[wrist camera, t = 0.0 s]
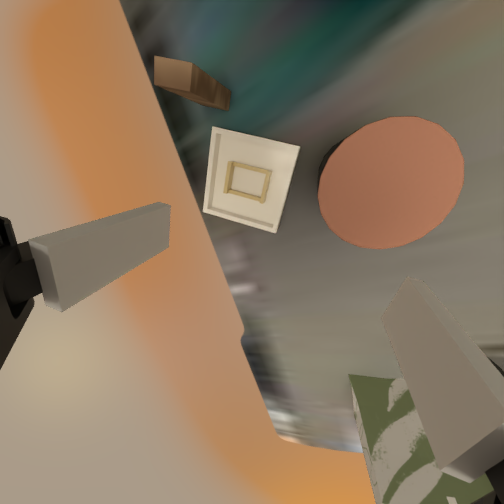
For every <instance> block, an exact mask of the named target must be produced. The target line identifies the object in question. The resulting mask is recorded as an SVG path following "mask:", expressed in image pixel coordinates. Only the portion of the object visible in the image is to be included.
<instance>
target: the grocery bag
mask: <svg viewBox="0 0 504 504" xmlns="http://www.w3.org/2000/svg"><path fill="white" fill-rule="evenodd" d="M348 375H349V379H350V384H351V389H352V394H353V406H354V415H355V420H356V424H357V428H358V432H359V436H360V440H361V445H362V449H363V453H364V457H365V461H366V465H367V469H368V473H369V477H370V481H371V485H372V489H373V493H374V498H375V502H376V504H471V503H472V502H474V501H476V500H477V499H479V498H481V497H483V496H484V495H486V494H488V493H489V492H491V491H493V490H494V489H493V487H492V485H491V483H490V481H489V479H488V477H487V475H486V473H485V474H483V475H482V476H480V477H479V478H477V479H476V480H474V481H473V482H471V483H468V482H466V481H463V480H461V479H458V478H456V477H454V476H451V475H449V474H446V473H444V472H442V471H440V469H439V467H438V464H437V462H436V459H435V456H434V454H433V451H432V449H431V446H430V443H429V441H428V438H427V436H426V433H425V430H424V428H423V425H422V423H421V420H420V417H419V415H418V412H417V410H416V407H415V405H414V402H413V399H412V397H411V394H410V392H409V389H408V386H407V384H406V381H405V379H384V378H376V377H367V376H359V375H350V374H348Z"/></svg>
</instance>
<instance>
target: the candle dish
mask: <svg viewBox="0 0 504 504" xmlns="http://www.w3.org/2000/svg"><path fill="white" fill-rule="evenodd" d="M300 149H301V147H300V146H296V145H291V144H287V143H283V142H278V141H274V140H270V139H265V138H261V137H257V136H252V135H248V134H243V133H239V132H235V131H230V130H226V129H222V128H217V127H213V126H212V134H211V143H210V152H209V161H208V170H207V179H206V188H205V197H204V206H203V212H205V213H209V214H212V215H215V216H219V217H222V218H225V219H229V220H232V221H235V222H239V223H242V224H246V225H249V226H252V227H256V228H259V229H262V230H266V231H269V232H272V233H276V232H277V230H278V228H279V224H280V221H281V217H282V213H283V210H284V206H285V203H286V199H287V195H288V192H289V188H290V185H291V181H292V177H293V174H294V170H295V167H296V163H297V160H298V156H299V152H300Z"/></svg>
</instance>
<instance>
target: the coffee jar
mask: <svg viewBox="0 0 504 504" xmlns="http://www.w3.org/2000/svg"><path fill="white" fill-rule="evenodd" d="M463 184H464V159H463V156H462V154H461V151H460V149H459V147H458V144H457V142H456V140H455V139H454V138H453V137H452V136H451V135H450V134H449V133H448V132H447V131H446V130H444V129H443V128H442V127H441V126H440V125H439V124H437V123H434V122H431V121H428V120H425V119H422V118H419V117H416V116H405V117H388V118H385V119H382V120H379V121H376V122H373V123H370V124H367V125H365V126H363V127H362V128H360V129H358V130H357V131H355V132H354V133H352V134H351V135H349V136H348V137H346V138H345V139H343V140H342V141H340V142H339V143H337V144H336V145H334V146H333V147H332V148H331V149H330V151H329V152H328V153H327V154H326V155H325V156H324V159H323V161H322V163H321V165H320V167H319V175H318V201H319V206H320V211H321V215H322V216H323V218H324V220H325V222H326V223H327V225H328V227H329V228H330V229H331V230H332V231H333V232H334V233H335V234H336V235H338V236H339V237H340V238H341V239H342V240H344V241H346V242H349V243H351V244H354V245H356V246H358V247H363V248H372V249H386V248H392V247H399V246H402V245H405V244H407V243H410V242H412V241H414V240H417V239H419V238H422V237H423V236H424V235H426V234H427V233H428V232H430V231H431V230H432V229H434V228H435V227H436V226H438V225H439V224H440V223H441V222H442V221H443V220H444V218H445V217H446V216H447V215H448V213H449V212H450V211H451V210H452V208H453V207H454V206H455V204H456V202H457V199H458V196H459V194H460V191H461V189H462V186H463Z"/></svg>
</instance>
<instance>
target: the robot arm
mask: <svg viewBox="0 0 504 504" xmlns="http://www.w3.org/2000/svg"><path fill="white" fill-rule="evenodd" d="M170 208H171V206H170V205H168V204H164V203H161V202H157V203H153V204H150V205H147V206H143V207H140V208H136V209H133V210H129V211H126V212H122V213H119V214H116V215H112V216H109V217H105V218H102V219H98V220H95V221H91V222H88V223H84V224H81V225H77V226H74V227H70V228H67V229H63V230H60V231H57V232H53V233H50V234H46V235H43V236H39V237H36V238H32V239H29V240H28V241H27V242H24V243H20V244H17V241H16V238H15V234H14V231H13V228H12V224H11V221H10V220H9V219H8V218H4V217H1V216H0V369H1V367H2V366H3V364H4V362H5V360H6V358H7V356H8V354H9V352H10V350H11V348H12V346H13V344H14V343H15V341H16V339H17V337H18V335H19V333H20V331H21V329H22V328H23V326H24V324H25V322H26V320H27V318H28V316H29V314H30V312H31V310H32V309H33V307H34V299H33V297H34V296H36V295H38V294H40V293H43V297H44V301H45V304H46V306H49V307H51V308H53V309H56V310H58V311H61V312H63V311H65V310H66V309H68V308H70V307H71V306H73V305H75V304H76V303H78V302H79V301H81V300H83V299H85V298H86V297H88V296H89V295H91V294H93V293H94V292H96V291H98V290H99V289H101V288H103V287H104V286H106V285H108V284H109V283H111V282H112V281H114V280H116V279H117V278H119V277H121V276H122V275H124V274H126V273H127V272H129V271H130V270H132V269H134V268H135V267H137V266H138V265H140V264H142V263H144V262H145V261H147V260H148V259H150V258H152V257H153V256H155V255H157V254H158V253H160V252H162V251H163V250H165V249H166V248H168V247H169V229H170ZM381 319H382V322H383V324H384V327H385V329H386V332H387V335H388V337H389V340H390V342H391V345H392V347H393V350H394V353H395V355H396V358H397V360H398V363H399V366H400V368H401V371H402V373H403V376H404V379H405V381H406V384H407V386H408V389H409V392H410V394H411V397H412V399H413V402H414V405H415V407H416V410H417V412H418V415H419V417H420V420H421V423H422V425H423V428H424V430H425V433H426V436H427V438H428V441H429V443H430V446H431V449H432V451H433V454H434V456H435V459H436V462H437V464H438V467H439V469H440V471H442V472H444V473H446V474H449V475H451V476H454V477H456V478H458V479H461V480H463V481H466V482H468V483H471V482H473V481H474V480H476V479H477V478H479V477H480V476H482V475H483V474H485V473H486V475H487V477H488V479H489V481H490V483H491V485H492V487H493V489H494V490H493V491H491V492H489V493H488V494H486V495H484V496H483V497H481V498H479V499H477V500H476V501H474V502H472V503H471V504H504V371H503V370H502V369H501V368H500V367H499V366H498V365H496V364H495V363H494V362H493V361H492V360H491V359H489V358H488V357H487V356H486V355H485V354H484V353H483V352H482V351H481V349H480V348H479V347H478V346H477V345H476V343H475V342H474V341H473V340H472V339H471V337H470V336H469V335H468V334H467V333H466V331H465V330H464V329H463V328H462V327H461V325H460V324H459V323H458V322H457V321H456V320H455V318H454V317H453V316H452V315H451V314H450V312H449V311H448V310H447V309H446V308H445V306H444V305H443V304H442V303H441V302H440V300H439V299H438V298H437V297H436V296H435V294H434V293H433V292H432V291H431V290H430V288H429V287H428V286H427V285H426V284H425V282H424V281H421V280H417V279H414V278H411V277H406V279H405V281H404V282H403V284H402V285H401V287H400V289H399V290H398V292H397V293H396V295H395V297H394V298H393V300H392V301H391V303H390V305H389V306H388V308H387V309H386V311H385V313H384V314H383V316H382V317H381Z"/></svg>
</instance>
